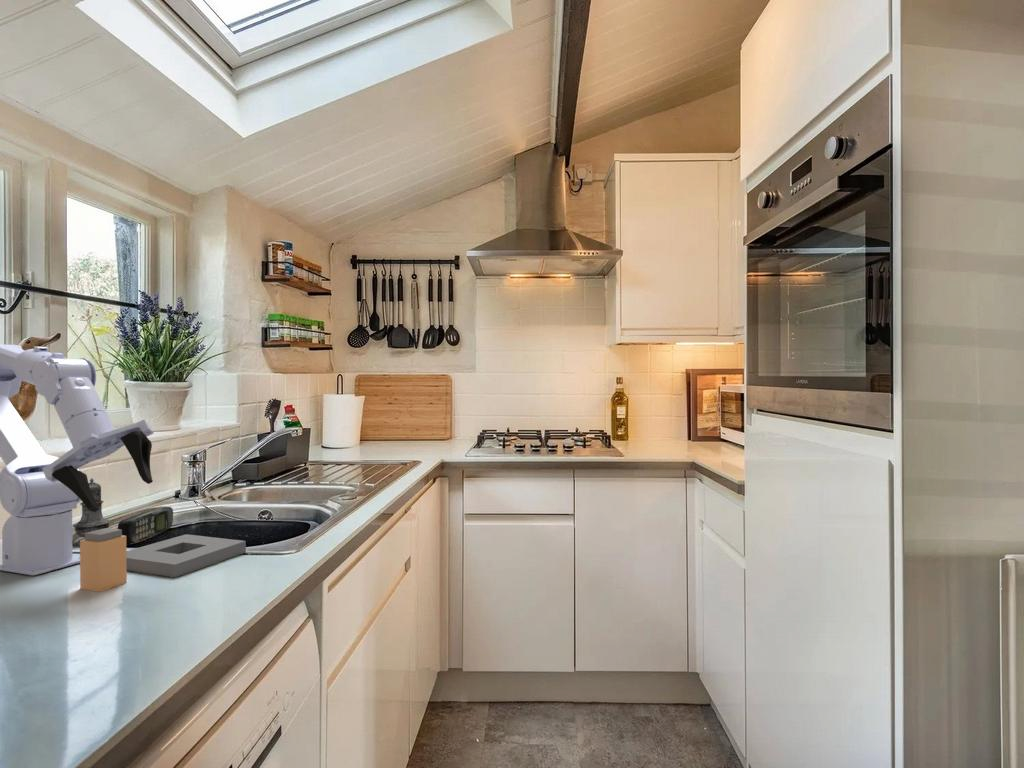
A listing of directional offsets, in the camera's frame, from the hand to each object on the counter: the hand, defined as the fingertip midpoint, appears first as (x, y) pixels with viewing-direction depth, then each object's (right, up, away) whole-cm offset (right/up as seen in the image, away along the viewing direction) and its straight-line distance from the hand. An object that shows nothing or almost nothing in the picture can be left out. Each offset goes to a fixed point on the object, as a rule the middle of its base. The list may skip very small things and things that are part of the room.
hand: (121, 495), depth 86 cm
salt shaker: (-22, -14, +24) cm, 35 cm away
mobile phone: (-14, -14, +28) cm, 34 cm away
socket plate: (+2, -13, +12) cm, 18 cm away
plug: (-2, -13, 0) cm, 13 cm away
